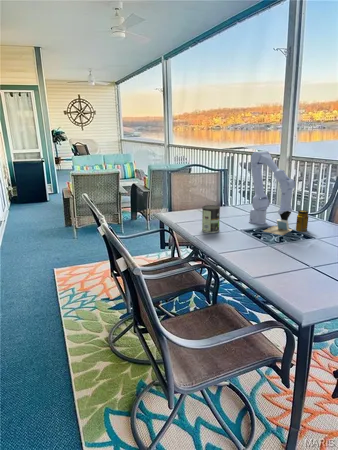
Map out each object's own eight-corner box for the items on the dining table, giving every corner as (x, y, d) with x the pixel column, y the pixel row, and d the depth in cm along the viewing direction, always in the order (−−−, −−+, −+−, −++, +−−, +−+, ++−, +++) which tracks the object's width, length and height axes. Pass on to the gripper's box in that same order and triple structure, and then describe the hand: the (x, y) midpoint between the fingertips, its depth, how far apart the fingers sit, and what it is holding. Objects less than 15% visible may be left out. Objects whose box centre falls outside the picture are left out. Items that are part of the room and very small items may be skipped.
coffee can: (219, 228, 193) (220, 205, 189) (218, 233, 183) (219, 209, 179) (202, 227, 195) (203, 204, 191) (200, 232, 185) (201, 208, 181)
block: (277, 228, 188) (276, 220, 185) (278, 226, 189) (277, 218, 186) (287, 230, 184) (286, 222, 181) (288, 228, 185) (288, 220, 182)
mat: (262, 232, 184) (262, 231, 184) (273, 226, 194) (273, 225, 194) (282, 236, 176) (282, 235, 176) (292, 230, 186) (293, 229, 186)
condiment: (292, 229, 187) (294, 210, 184) (305, 228, 189) (307, 209, 186) (299, 233, 181) (301, 213, 177) (313, 232, 182) (315, 212, 179)
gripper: (287, 203, 174) (285, 227, 178) (298, 199, 185) (295, 222, 188) (275, 202, 179) (273, 225, 183) (286, 197, 189) (284, 220, 193)
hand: (284, 223), depth 186 cm, fingers closed
